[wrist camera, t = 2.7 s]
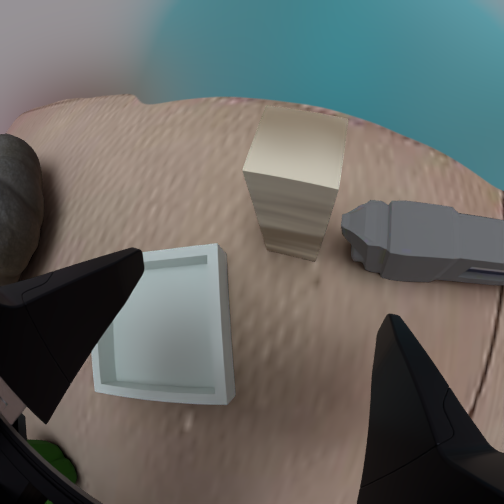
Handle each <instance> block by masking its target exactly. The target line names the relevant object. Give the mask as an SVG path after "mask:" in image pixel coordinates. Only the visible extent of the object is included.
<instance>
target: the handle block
mask: <svg viewBox="0 0 504 504" xmlns="http://www.w3.org/2000/svg"><path fill="white" fill-rule="evenodd" d="M347 126H348V119H345V118H341V117H336V116H331V115H326V114H321V113H316V112H310V111H304V110H298V109H291V108H284V107H277V106H268V105H266V107H265V110H264V112H263V115H262V118H261V120H260V123H259V126H258V128H257V131H256V134H255V137H254V139H253V142H252V145H251V148H250V150H249V153H248V156H247V159H246V162H245V164H244V167H243V170H242V171H243V174H244V177H245V180H246V184H247V187H248V190H249V193H250V196H251V200H252V203H253V206H254V209H255V212H256V216H257V219H258V222H259V225H260V229H261V232H262V235H263V238H264V242H265V245H266V248H267V250H268V251H272V252H277V253H281V254H285V255H289V256H293V257H298V258H302V259H306V260H310V261H314V262H315V261H316V258H317V255H318V252H319V249H320V246H321V243H322V240H323V237H324V234H325V231H326V228H327V225H328V222H329V219H330V216H331V213H332V209H333V206H334V203H335V200H336V196H337V193H338V190H339V184H340V178H341V171H342V164H343V157H344V150H345V143H346V135H347Z"/></svg>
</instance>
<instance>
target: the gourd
mask: <svg viewBox="0 0 504 504" xmlns="http://www.w3.org/2000/svg"><path fill="white" fill-rule="evenodd" d="M43 215H44V199H43V194H42V174H41V167H40V163H39V159H38V157H37V155H36V153H35V152H34V150H33V149H32V148H31V147H30V146H29V145H28V144H27V143H26V142H25V141H24V140H22V139H20V138H18V137H15V136H13V135H10V134H0V287H1V286H5V285H9V284H12V283H16V282H18V280H19V278H20V275H21V272H22V271H23V270H24V269H25V268H26V266H27V265H28V263H29V260H30V258H31V256H32V255H33V253H34V251H35V250H36V248H37V246H38V242H39V236H40V227H41V225H42V222H43Z"/></svg>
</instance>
